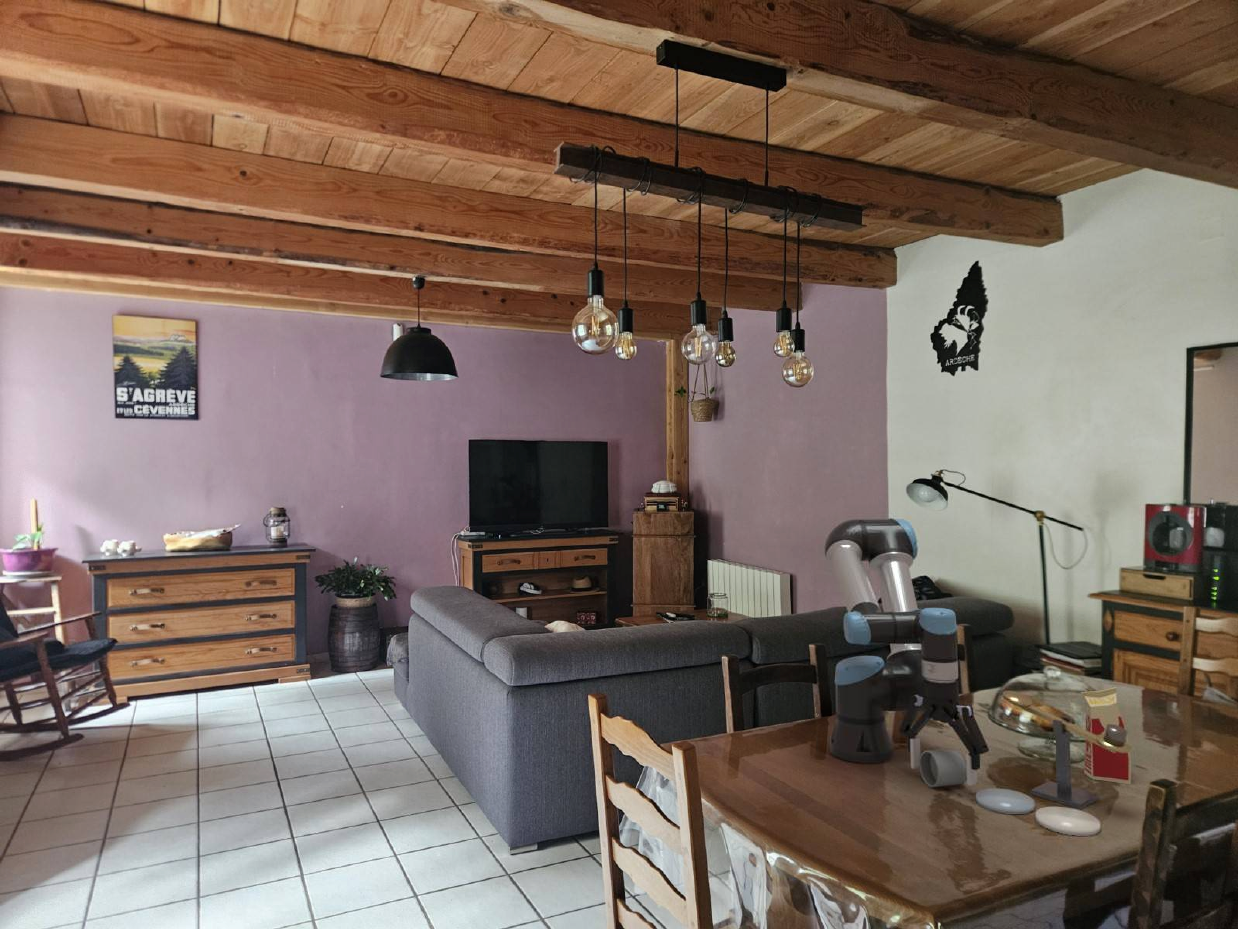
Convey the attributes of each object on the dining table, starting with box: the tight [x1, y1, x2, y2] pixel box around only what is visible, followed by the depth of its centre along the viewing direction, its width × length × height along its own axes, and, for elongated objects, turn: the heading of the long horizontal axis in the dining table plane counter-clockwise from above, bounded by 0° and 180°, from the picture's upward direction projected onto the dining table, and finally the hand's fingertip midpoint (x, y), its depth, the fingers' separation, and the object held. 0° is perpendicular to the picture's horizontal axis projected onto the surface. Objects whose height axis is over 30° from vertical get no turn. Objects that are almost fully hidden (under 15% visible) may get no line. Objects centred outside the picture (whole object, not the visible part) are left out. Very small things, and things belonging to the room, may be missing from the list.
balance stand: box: [1030, 715, 1099, 810], centre depth 169 cm, size 10×8×16 cm
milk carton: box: [1080, 686, 1132, 785], centre depth 181 cm, size 9×9×20 cm
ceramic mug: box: [919, 749, 967, 788], centre depth 179 cm, size 11×8×8 cm
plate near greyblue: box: [975, 788, 1036, 815], centre depth 166 cm, size 11×11×1 cm
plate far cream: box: [1035, 806, 1101, 837], centre depth 156 cm, size 11×11×1 cm
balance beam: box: [1002, 690, 1131, 753], centre depth 169 cm, size 26×6×5 cm, turn 36°
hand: (943, 775), depth 177 cm, fingers open, 13 cm apart
